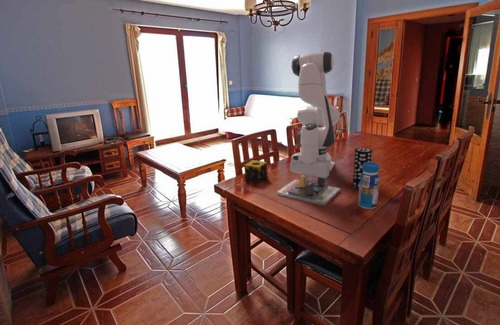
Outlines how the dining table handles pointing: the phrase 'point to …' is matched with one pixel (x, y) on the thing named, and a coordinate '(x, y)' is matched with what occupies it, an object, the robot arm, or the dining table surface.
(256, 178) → the candle
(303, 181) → the breaker
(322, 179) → the breaker
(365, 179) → the blue lidded canister
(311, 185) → the breaker
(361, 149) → the white-spotted black cylinder
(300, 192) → the panel
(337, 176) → the dining table surface
